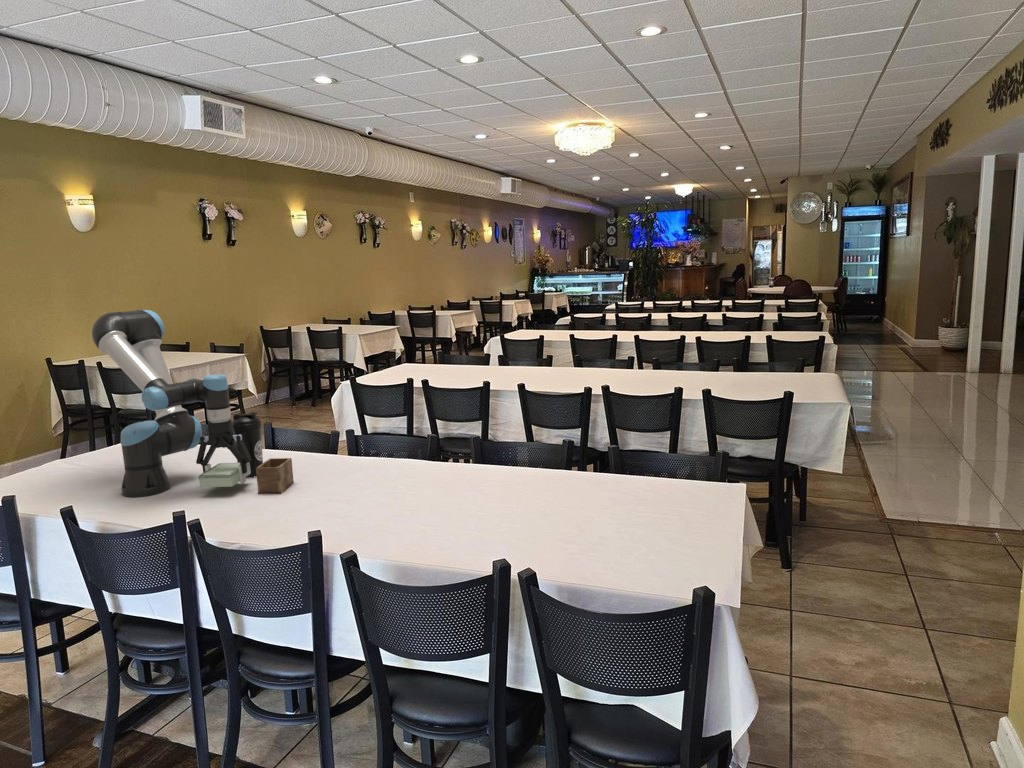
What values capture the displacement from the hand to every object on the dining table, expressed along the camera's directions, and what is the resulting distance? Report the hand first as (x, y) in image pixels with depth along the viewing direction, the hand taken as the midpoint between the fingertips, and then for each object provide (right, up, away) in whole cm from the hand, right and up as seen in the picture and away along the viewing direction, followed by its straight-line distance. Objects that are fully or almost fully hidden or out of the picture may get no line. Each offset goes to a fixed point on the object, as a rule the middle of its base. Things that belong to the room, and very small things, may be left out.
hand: (226, 482), depth 244 cm
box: (+17, -2, +1) cm, 17 cm away
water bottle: (+2, 0, +18) cm, 18 cm away
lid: (0, +1, 0) cm, 1 cm away
